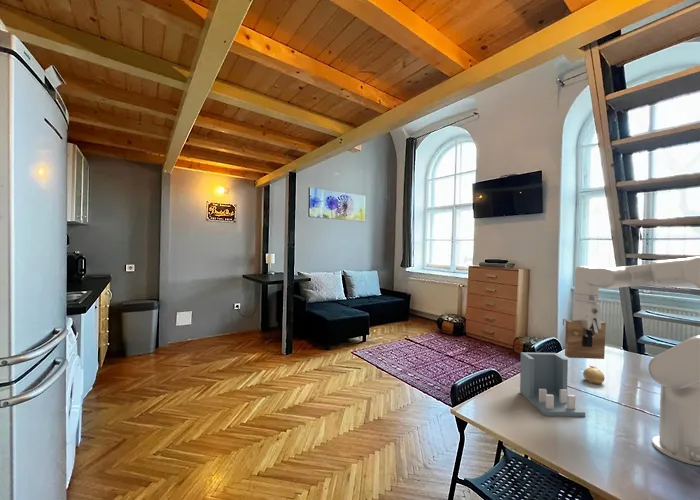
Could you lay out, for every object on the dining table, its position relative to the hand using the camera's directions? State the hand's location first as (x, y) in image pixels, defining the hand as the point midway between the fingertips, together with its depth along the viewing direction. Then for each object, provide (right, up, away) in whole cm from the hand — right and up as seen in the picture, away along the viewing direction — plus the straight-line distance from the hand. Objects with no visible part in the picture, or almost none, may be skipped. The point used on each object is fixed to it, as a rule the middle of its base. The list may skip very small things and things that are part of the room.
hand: (584, 344), depth 120 cm
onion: (+23, -25, +24) cm, 42 cm away
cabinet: (-10, -25, +5) cm, 28 cm away
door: (0, -5, 0) cm, 5 cm away
